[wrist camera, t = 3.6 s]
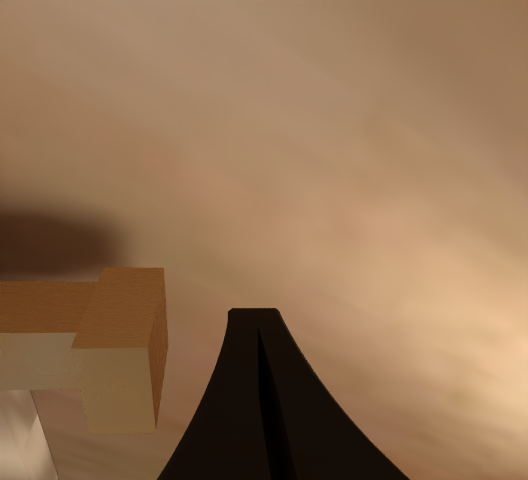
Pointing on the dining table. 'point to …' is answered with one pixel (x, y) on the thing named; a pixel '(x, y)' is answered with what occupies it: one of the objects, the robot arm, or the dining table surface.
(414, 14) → the dining table surface
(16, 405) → the socket block
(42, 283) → the tan headed bar
